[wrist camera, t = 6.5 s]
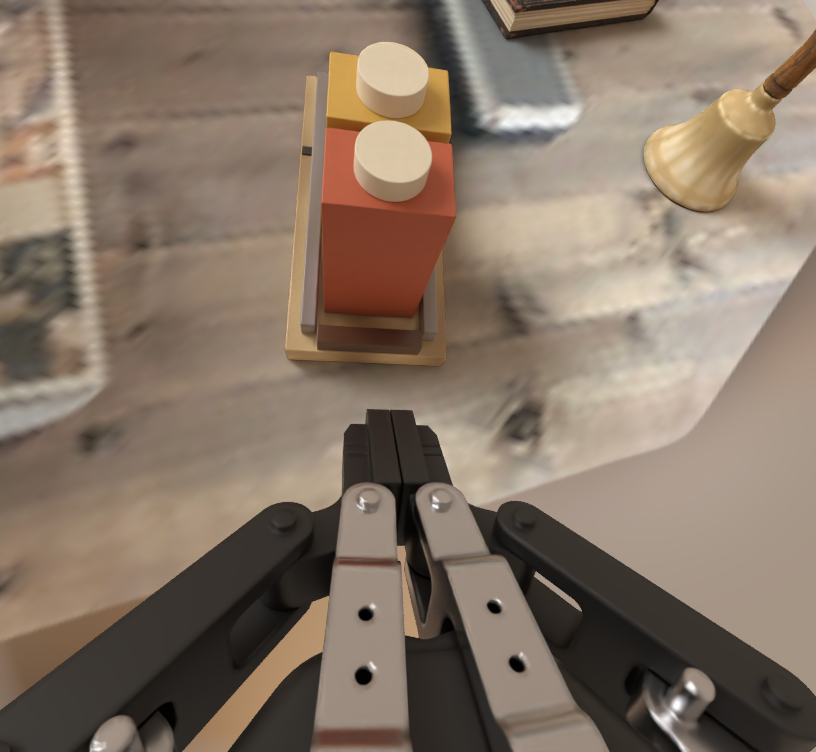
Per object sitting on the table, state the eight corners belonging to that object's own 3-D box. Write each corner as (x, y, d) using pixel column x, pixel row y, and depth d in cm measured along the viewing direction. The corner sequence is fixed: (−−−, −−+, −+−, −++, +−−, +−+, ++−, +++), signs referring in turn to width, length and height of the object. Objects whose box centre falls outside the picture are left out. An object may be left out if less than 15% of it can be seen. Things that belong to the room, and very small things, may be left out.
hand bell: (745, 216, 34) (1069, -14, 19) (654, 207, 33) (928, -49, 18) (718, 135, 37) (987, -125, 22) (633, 124, 35) (858, -164, 20)
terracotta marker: (324, 312, 24) (320, 182, 14) (327, 258, 25) (325, 102, 15) (412, 318, 24) (464, 198, 15) (411, 265, 25) (459, 122, 16)
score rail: (287, 359, 24) (282, 342, 22) (307, 94, 30) (305, 56, 28) (440, 366, 26) (452, 350, 23) (431, 112, 32) (440, 78, 29)
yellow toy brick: (327, 250, 25) (325, 92, 15) (330, 201, 26) (329, 24, 16) (411, 258, 26) (458, 112, 16) (411, 209, 27) (454, 46, 17)
